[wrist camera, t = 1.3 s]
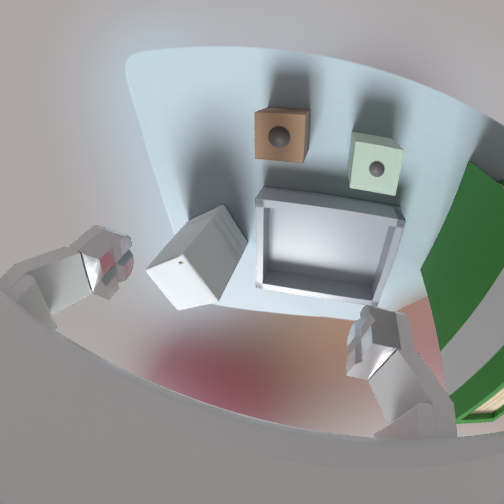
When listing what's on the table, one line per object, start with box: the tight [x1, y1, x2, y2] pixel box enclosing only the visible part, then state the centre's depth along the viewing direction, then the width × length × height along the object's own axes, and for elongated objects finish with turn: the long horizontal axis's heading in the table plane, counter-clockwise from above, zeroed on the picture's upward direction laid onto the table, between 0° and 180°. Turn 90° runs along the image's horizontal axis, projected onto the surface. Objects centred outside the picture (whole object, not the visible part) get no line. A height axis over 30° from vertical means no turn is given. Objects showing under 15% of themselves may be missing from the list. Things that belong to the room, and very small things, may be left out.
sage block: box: [348, 131, 404, 196], centre depth 27 cm, size 5×5×6 cm
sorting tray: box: [255, 187, 405, 307], centre depth 36 cm, size 18×14×4 cm
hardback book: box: [421, 161, 504, 424], centre depth 20 cm, size 18×7×24 cm, turn 173°
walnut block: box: [255, 107, 310, 163], centre depth 28 cm, size 5×5×6 cm
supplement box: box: [146, 204, 248, 310], centre depth 37 cm, size 7×7×13 cm
